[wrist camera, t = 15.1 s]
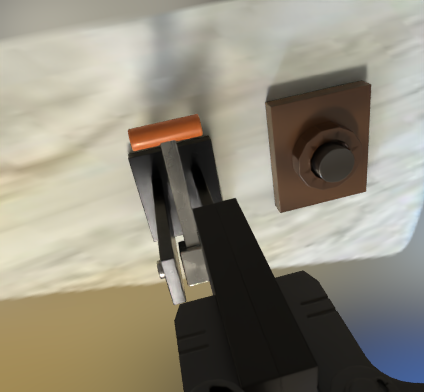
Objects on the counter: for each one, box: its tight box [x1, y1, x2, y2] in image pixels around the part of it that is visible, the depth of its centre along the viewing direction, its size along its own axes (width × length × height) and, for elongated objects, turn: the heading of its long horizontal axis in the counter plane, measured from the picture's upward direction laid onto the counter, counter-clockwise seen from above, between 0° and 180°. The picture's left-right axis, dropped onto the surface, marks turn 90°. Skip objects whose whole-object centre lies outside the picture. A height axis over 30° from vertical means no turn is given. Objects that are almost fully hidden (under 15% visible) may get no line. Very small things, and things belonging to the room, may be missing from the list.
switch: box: [128, 114, 209, 286], centre depth 28 cm, size 12×5×2 cm, turn 10°
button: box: [312, 142, 355, 182], centre depth 37 cm, size 4×4×2 cm
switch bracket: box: [128, 136, 222, 305], centre depth 34 cm, size 10×8×14 cm
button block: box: [265, 81, 371, 213], centre depth 39 cm, size 12×10×4 cm
